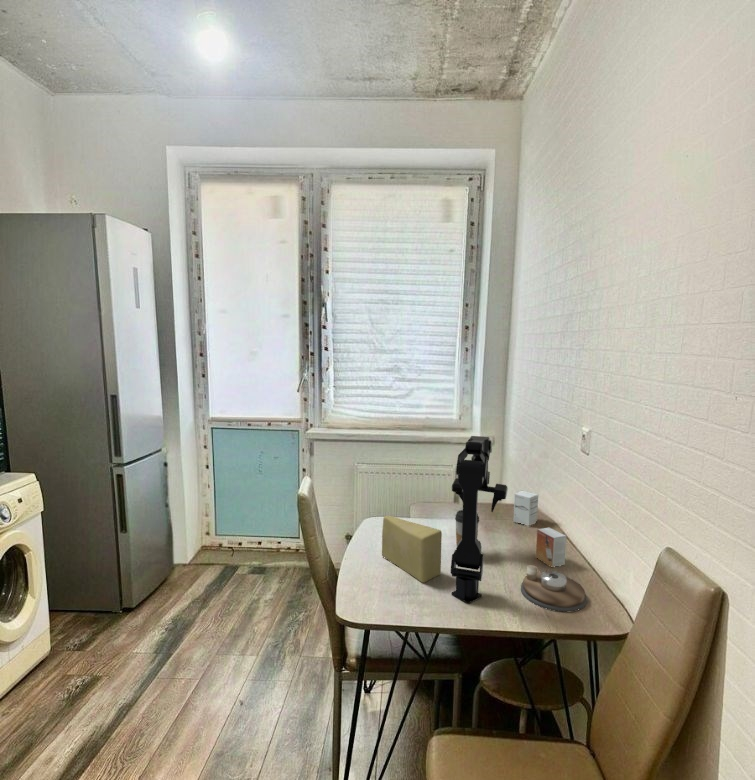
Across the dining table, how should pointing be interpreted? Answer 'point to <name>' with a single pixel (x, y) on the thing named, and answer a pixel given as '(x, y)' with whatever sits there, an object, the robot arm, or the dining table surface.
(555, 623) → the dining table surface
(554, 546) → the small box
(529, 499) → the supplement box
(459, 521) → the coffee cup
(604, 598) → the dining table surface
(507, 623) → the dining table surface
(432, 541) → the cheese
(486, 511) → the dining table surface
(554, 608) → the turntable base
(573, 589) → the lazy susan
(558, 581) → the cast cover
